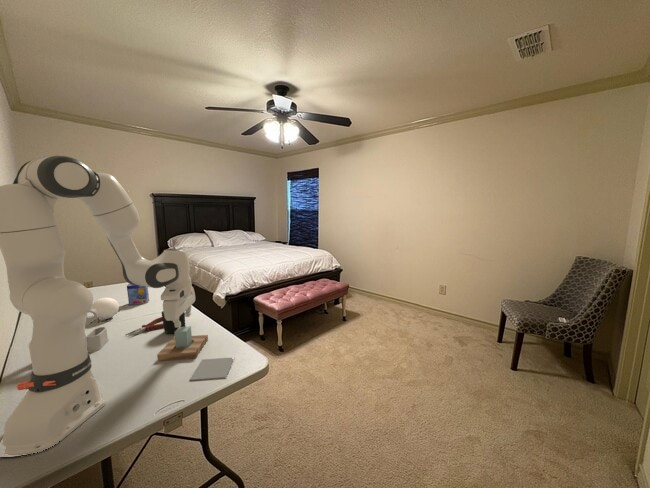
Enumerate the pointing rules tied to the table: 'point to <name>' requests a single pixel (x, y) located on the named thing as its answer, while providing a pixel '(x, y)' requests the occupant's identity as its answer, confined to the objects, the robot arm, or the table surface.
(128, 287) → the ink cartridge box
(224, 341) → the table surface
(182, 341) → the square plug
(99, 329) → the phone holder
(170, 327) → the pen holder
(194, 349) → the plug dock
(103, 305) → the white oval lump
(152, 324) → the pliers
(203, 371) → the rubber mat
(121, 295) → the table surface
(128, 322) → the table surface
